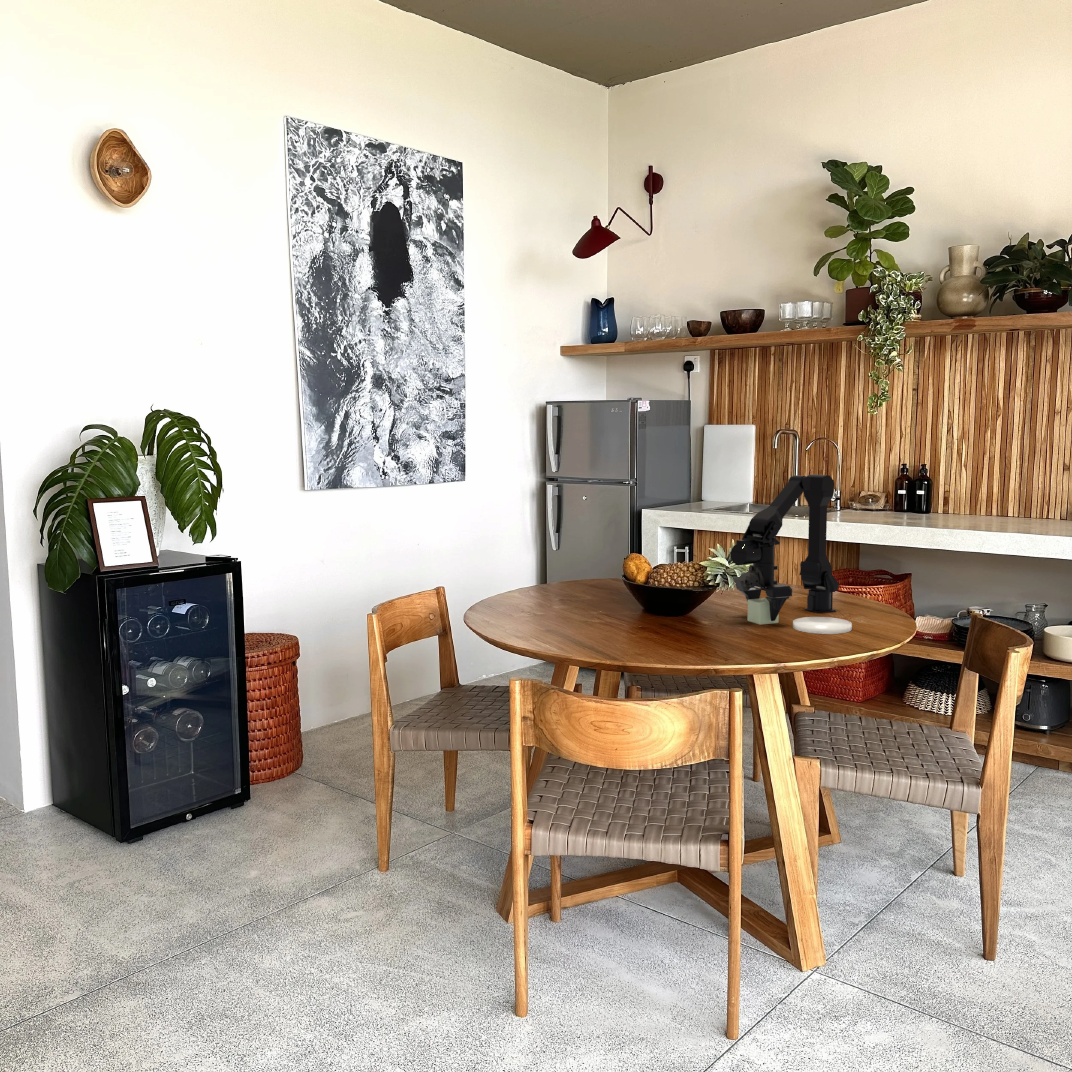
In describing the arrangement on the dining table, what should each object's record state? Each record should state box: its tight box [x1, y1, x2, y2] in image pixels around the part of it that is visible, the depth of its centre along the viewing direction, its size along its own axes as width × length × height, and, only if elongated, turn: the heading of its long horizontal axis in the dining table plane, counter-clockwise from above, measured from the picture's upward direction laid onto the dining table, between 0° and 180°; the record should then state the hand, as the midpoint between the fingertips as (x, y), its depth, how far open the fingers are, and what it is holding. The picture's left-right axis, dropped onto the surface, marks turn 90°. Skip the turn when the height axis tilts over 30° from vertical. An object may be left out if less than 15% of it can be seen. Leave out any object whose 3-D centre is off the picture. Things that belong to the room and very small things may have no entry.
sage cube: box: [747, 597, 780, 625], centre depth 268 cm, size 6×6×6 cm
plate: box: [792, 616, 853, 635], centre depth 259 cm, size 15×15×2 cm
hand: (762, 617), depth 269 cm, fingers open, 9 cm apart
